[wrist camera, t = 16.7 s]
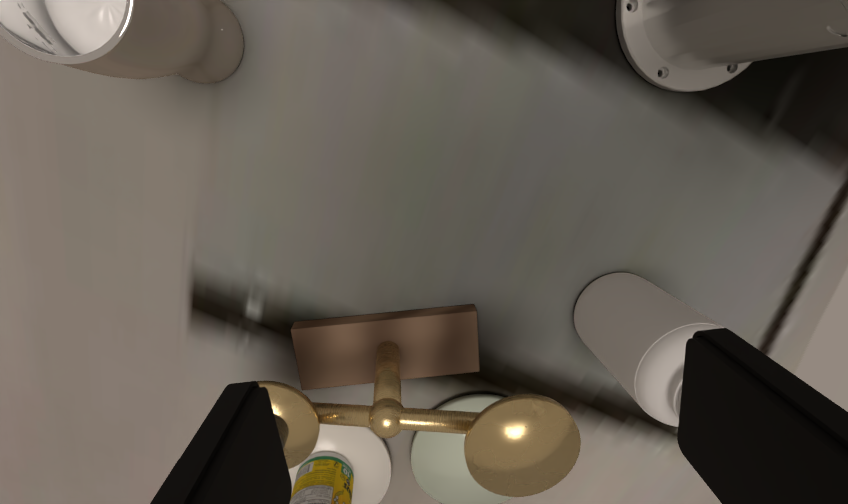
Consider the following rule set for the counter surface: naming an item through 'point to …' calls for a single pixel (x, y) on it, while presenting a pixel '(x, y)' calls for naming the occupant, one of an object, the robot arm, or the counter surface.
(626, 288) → the pill bottle
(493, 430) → the brass balance
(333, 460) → the supplement bottle
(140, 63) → the beer glass
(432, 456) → the pale green dish
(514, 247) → the counter surface
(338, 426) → the cream dish
